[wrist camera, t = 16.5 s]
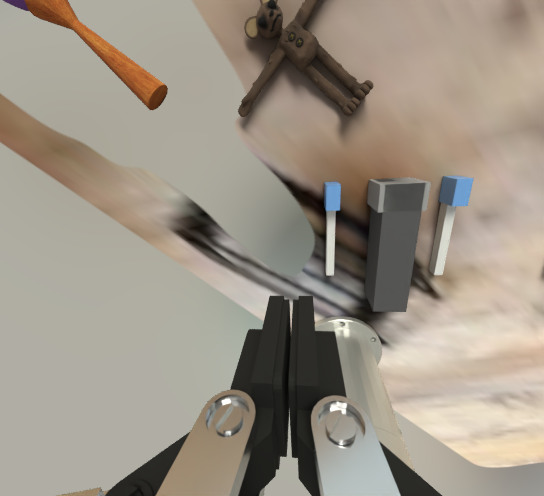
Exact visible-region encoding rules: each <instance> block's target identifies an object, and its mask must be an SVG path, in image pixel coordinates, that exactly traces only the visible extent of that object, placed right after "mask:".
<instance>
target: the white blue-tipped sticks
mask: <svg viewBox="0 0 544 496" xmlns="http://www.w3.org/2000/svg"><path fill="white" fill-rule="evenodd" d="M472 183H473V178H469V177H463V176H443V180H442V186H441V191H440V197H439V202H441V206H440V211H439V217H438V222H437V228H436V233H435V239H434V244H433V250H432V255H431V261H430V267H429V271H430V272H432V273H433V274H434V275H442V274H443V269H444V264H445V259H446V255H447V250H448V245H449V240H450V235H451V230H452V225H453V220H454V215H455V210H456V206H468V201H469V197H470V192H471V187H472ZM340 190H341V185H340V184H339V183H338V182H324V207H325V209H326V269H325V271H326V275H334V248H335V214H336V210H340Z"/></svg>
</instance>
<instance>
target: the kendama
mask: <svg viewBox="0 0 544 496" xmlns="http://www.w3.org/2000/svg"><path fill="white" fill-rule="evenodd" d="M3 1H5V2H7V3H9V4H11V5H13V6H15V7H18V8H21V9H23V10H26V11H30V12H31V13H32V14H33V15H34V16H36V17H38V18H40V19H43V20H46V21H48V22H51V23H54V24H57V25H60V26H63V27H66V28H69V29H72V30H74V31H75V32H76V33H77V34H78V35H79V36H80V38H82V39H83V41H84V42H85V43H86V44H87V45H88V46H89V47H90V48H91V49H92V50H93V51H94V52H95V53H96V54H97V55H98V56H99V57H100V58H101V59H102V60H103V61H104V62H105V64H106V65H108V67H109V68H110V69H111V70H112V71H113V72H114V73H115V74H116V75H117V76H118V77H119V78H120V79H121V80H122V81H123V82H124V83H125V84H126V85H127V86H128V87H129V88H130V90H131V91H132V92H133V93H134V94H135V95H136V96H137V97H138V98H139V99H140V100H141V101H142V102H143V103H144V104H145V105H146V106H147V107H148V108H149V109H150V110H154V109H156V108H158V107H159V106H160V105H161V104H162V102H163V101H164V99H165V97H166V95H167V90H168V88H167V86H166V85H165V84H163V83H162V82H160V81H159V80H158V79H156V78H155V77H154V76H152V75H151V74H150V73H148V72H147V71H146V70H144V69H143V68H141V67H140V66H139V65H137V64H136V63H135V62H134V61H132V60H131V59H129V58H128V57H127V56H125V55H124V54H123V53H121V52H120V51H119V50H117V49H116V48H114V47H113V46H112V45H110V44H109V43H108V42H106V41H105V40H104V39H102V38H101V37H100V36H98V35H97V34H96V33H94V32H93V31H92V30H90V29H89V28H87V27H86V26H85V25H83V24H82V23H81V22H79V20H78V19H77V17H76V15H75V13H74V11H73V10H72V8H71V6H70V4H69V2H68V0H3Z"/></svg>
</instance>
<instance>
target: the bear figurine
mask: <svg viewBox="0 0 544 496" xmlns="http://www.w3.org/2000/svg"><path fill="white" fill-rule="evenodd" d="M318 1H319V0H305V2H303V3H302V6H301V8H300V9H299V11H298V13H297V15H296V17H295V19H294V20H293V21H292V22H291V23H290V24H289V25H288V26H287V27H286V29H283V28H282V22H283V15H282V11H281V9H280V7H279V6H278V5H277V0H260V2H261V7H260V9H259V11H258V13H257V16H254V17H250V18H248V19H247V21H246V23H245V33H246V35H247V36H248V37H249V38H252V39H256V38H257V37H258V35H259V34H261V35H262V36H263V37H265V38H267V39H269V38H272V37H274V36H276V35H280V36H281V37H280V39H279V42H278V45H277V48H276V50H275V51H274V52H272V53H271V55H270V56H269V58H270V59H269V61H268V62H267V64H266V66H265V68H264V69H263V71H262V73H261V74H260V76H259V77H258V79H257V80H256V81H255V82H254V83H253V87H252V88H251V90H250V91H249V93H248V94H247V95H246V96H245V97H244V98H243V100H242V104H241V105H240V107H239V109H238V112H239V114H240V116H241V117H245V116H246V115H247V114H248V113H249V111H250V109H251V107H252V105H253V103H254V101H255V99H256V98H257V96H258V94H259V93H260V91H261V90H262V89H263V87H264V86H265V84H266V83H267V82H268V80H269V79H270V77H271V76H272V75H273V73H274V72H275V70H276V69H277V67H278V66H279V65H280V63H281V62H282V60H283V59H284V57H285V56H287V57H288V58H289V59H290V60H291V61H292V62H293V64H294V65H295V66H296V67H297V68H298V69H300V70H301V71H302V72H304V73H305V74H306V75H307V76H308V77H309V78H310V79H311V80H312V81H313V82H314V83H315V84H316V85H317V86H318V87H319V88H320V89H321V90H322V91H323V92H325V93H326V94H327V95H328V97H329V98H330V99H331V100H333V101H334V102H335V103H337V104H338V105H339V106H340V107H341V109H342V110H343V112H344V113H345V115H347V116H351V114H352V112H354V111H355V110H356V108H357V107H358V106H359V104H360V102H359V100H363V99H364V98H365V96H366V95H367V94H368V93H369V92H370V90H371V89H372V88H373V83H372V82H371V81H369V80H367V81H365V82H364V83H362V84H359V83H358V82H357V81H356V78H355V77H353V76H351V75H350V74H349V73H348V72H347V71H346V70H345V69H344V68H343V67H342V65H341V64H339V63H338V62H336V61H335V60H334V59H333V58H332V57H331V56H330V55H329V54H328V53H327V52H326V51H325V50H324V49H323V48H322V47H321V46H320V45H319V43H318V41H317V39H316V37H315V36H314V35H312V33H311V32H308V31H306V30H304V29H303V27H304V26H305V24H306V22H307V21H308V19H309V17H310V16H311V14H312V12H313V10H314V8H315V6H316V5H317V3H318ZM314 57H316V58H317V59H318V60H319V61H320V62H321V63H322V64H323V65H324V66H325V67H326V68H328V69H329V70H330V71H331V72H332V73H333V74H334V75H335V76H336V77H337V78H338V79H339V80H340V81H341V82H342V83H343V84H344V85H345V86H346V87H347V88H348V89H349V90H350V91H351V92H352V93H353V95H354V96H355V98H352V99H351V100H349V99H347V98H345V97H344V96H343V95H342V94H341V93H340V92H339V91H338V90H337V89H336V88H335V87H334V86H333V85H332V84H331V83H330V82H329V81H327V80H326V79H325V78H324V77H323V76H322V75H321V74H320V73H319V72H318V71H317V70H316V69H315V68H314V67H313V66H312V65H311V64H310V63H311V62H312V60H313V59H314Z"/></svg>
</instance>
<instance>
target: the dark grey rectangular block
mask: <svg viewBox="0 0 544 496" xmlns="http://www.w3.org/2000/svg"><path fill="white" fill-rule="evenodd" d="M430 185H431V182H428V181H424V180H420V179H416V178H412V177H410V178H390V179H371V180H369V186H368V199H367V204H368V205H370V206H371V213H370V225H369V238H368V251H367V263H366V276H365V289H364V292H365V294H366V296H367V299H368V301H369V303H370V305H371V308H372V310H373V311H381V312H406V308H407V302H408V295H409V289H410V282H411V276H412V269H413V263H414V256H415V250H416V243H417V237H418V230H419V224H420V217H421V211H426V210H427V204H428V198H429V192H430Z"/></svg>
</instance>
